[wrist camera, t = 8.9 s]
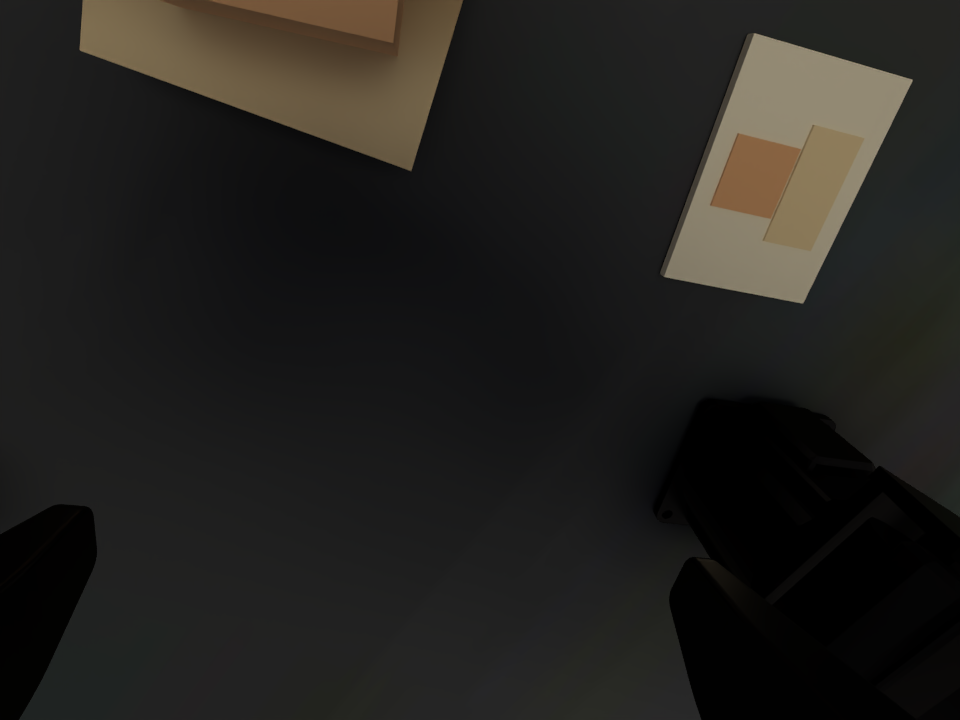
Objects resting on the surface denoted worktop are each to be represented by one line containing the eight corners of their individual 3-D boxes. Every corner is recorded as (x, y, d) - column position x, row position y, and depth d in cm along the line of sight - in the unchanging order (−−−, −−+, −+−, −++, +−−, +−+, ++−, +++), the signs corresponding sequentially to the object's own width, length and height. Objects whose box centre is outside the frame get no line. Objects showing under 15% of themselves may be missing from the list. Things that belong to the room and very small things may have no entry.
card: (796, 300, 22) (804, 304, 22) (659, 273, 21) (664, 277, 21) (903, 79, 19) (915, 79, 18) (747, 34, 18) (756, 32, 17)
